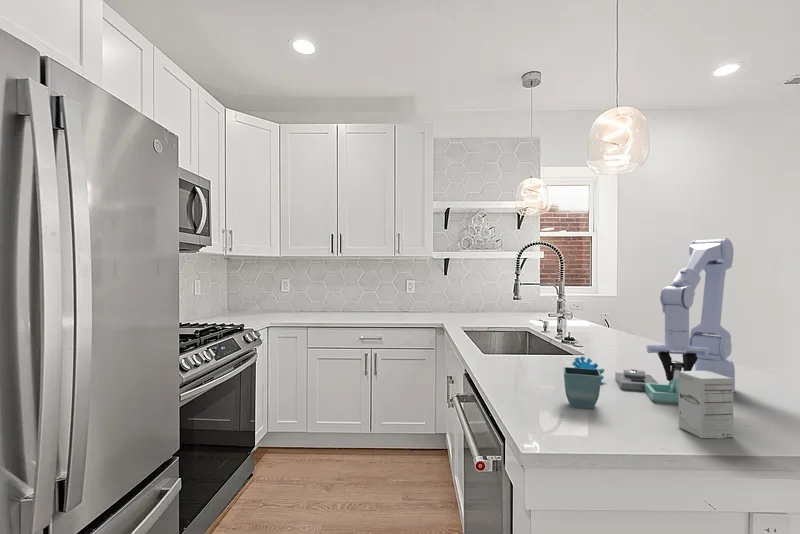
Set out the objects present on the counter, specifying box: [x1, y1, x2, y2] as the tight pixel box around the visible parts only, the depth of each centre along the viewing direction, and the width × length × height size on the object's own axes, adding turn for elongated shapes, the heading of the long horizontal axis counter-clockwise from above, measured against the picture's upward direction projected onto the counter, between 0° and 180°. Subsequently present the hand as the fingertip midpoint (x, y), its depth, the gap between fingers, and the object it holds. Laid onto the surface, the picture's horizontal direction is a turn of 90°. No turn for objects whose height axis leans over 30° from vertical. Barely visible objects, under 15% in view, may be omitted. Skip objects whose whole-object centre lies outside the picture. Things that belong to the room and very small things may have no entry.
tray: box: [644, 383, 679, 405], centre depth 127 cm, size 14×11×2 cm
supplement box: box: [678, 370, 734, 439], centre depth 100 cm, size 7×7×13 cm
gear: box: [572, 356, 605, 383], centre depth 146 cm, size 11×6×10 cm
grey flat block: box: [614, 368, 659, 392], centre depth 142 cm, size 10×14×4 cm
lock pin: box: [668, 360, 685, 393], centre depth 127 cm, size 4×4×8 cm
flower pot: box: [563, 366, 602, 410], centre depth 120 cm, size 9×9×9 cm
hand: (677, 380), depth 127 cm, fingers closed on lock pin, 3 cm apart
